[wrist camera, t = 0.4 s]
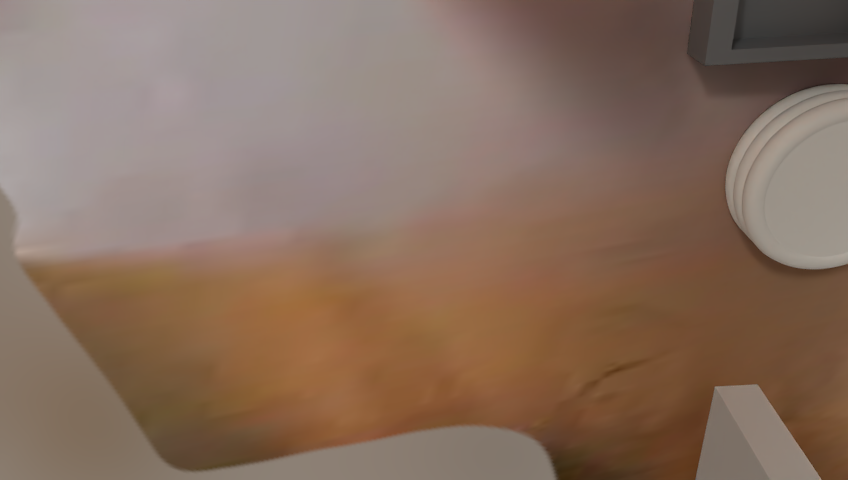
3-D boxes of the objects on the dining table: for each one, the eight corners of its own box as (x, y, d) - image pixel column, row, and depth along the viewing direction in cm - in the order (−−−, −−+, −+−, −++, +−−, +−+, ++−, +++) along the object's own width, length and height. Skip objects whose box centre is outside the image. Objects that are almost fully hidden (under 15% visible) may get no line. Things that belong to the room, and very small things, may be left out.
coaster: (878, 234, 43) (915, 264, 40) (712, 251, 43) (737, 281, 40) (917, 71, 38) (963, 91, 35) (731, 90, 38) (761, 111, 35)
